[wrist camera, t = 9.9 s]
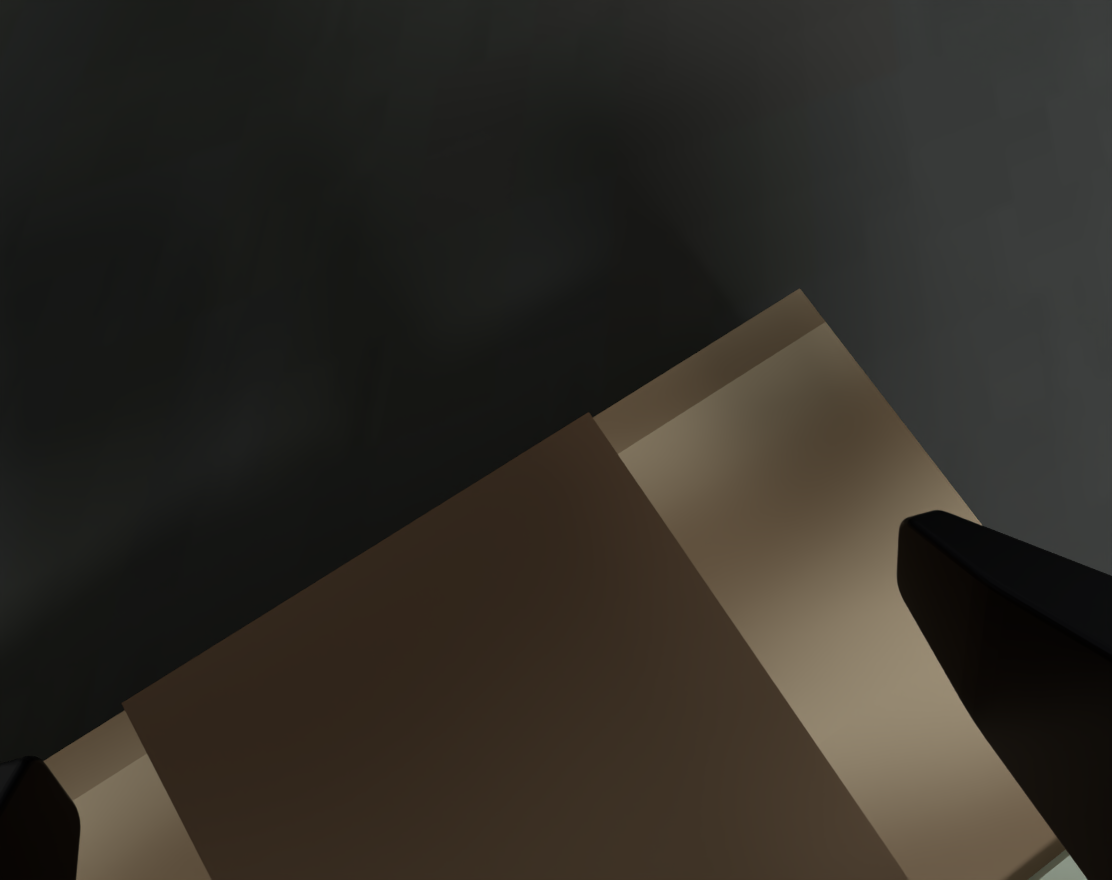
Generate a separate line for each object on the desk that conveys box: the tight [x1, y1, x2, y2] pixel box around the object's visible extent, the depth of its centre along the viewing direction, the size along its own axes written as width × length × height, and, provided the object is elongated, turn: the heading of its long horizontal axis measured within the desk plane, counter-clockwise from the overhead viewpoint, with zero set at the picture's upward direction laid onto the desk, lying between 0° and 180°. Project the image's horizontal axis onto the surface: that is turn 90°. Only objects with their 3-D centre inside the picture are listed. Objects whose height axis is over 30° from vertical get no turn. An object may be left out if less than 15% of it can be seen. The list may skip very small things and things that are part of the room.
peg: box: [121, 412, 908, 880], centre depth 11 cm, size 4×4×10 cm
